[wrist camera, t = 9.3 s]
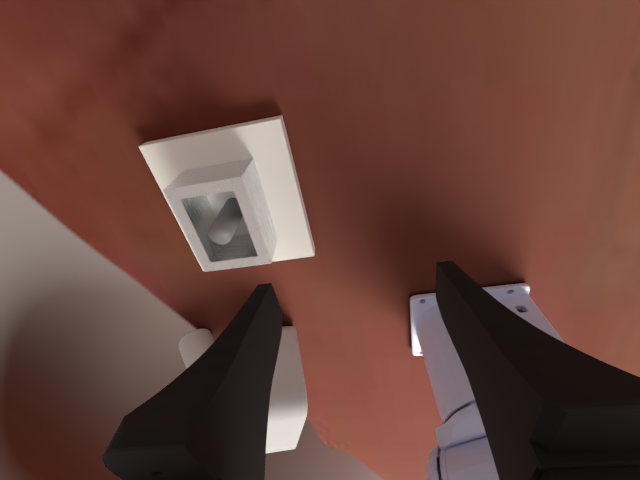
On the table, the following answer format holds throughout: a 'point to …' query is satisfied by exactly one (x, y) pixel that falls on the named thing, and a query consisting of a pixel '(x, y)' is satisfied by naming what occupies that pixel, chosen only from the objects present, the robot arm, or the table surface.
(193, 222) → the hollow square tube
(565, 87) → the table surface
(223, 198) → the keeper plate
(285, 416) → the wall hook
